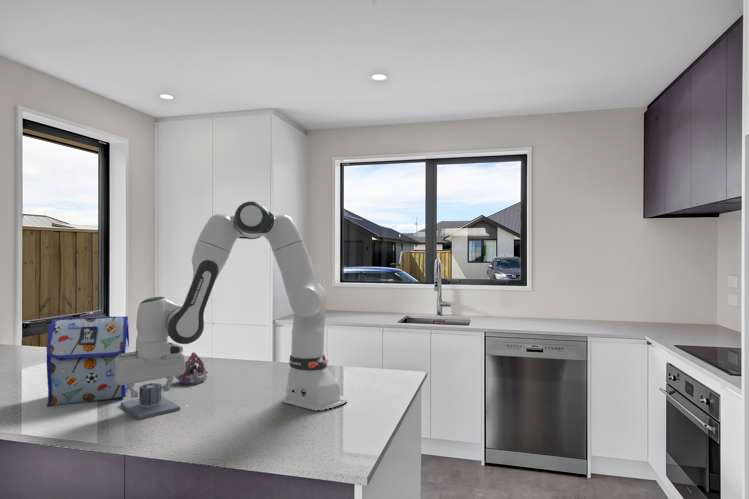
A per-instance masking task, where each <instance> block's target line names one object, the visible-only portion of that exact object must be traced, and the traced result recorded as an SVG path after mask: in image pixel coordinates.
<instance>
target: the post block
mask: <svg viewBox="0 0 749 499" xmlns="http://www.w3.org/2000/svg"><path fill="white" fill-rule="evenodd" d="M152 387H155V386H147V387H146V388H152ZM120 407H121V408H123V409H124V410H125V411H127V412H128V413H129V414H130V415H132V416H133V417H134V418H136V419H137V420H142V419H147V418H152V417H154V416H160V415H163V414H168V413H169V414H170V413H173V412H177V411H180V410H181V406H180V405H178V404H177V403H175V402H173V401H171V400H170V399H168V398H167V397H165V396H163V395H161V402H159V403H157V404H153V405H141V404H140V403H139V398H136V399H132V400H128V401H127V400H126V401H122V402H120Z"/></svg>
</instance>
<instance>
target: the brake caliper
mask: <svg viewBox="0 0 749 499" xmlns="http://www.w3.org/2000/svg"><path fill="white" fill-rule="evenodd" d="M197 364H198V366H197ZM207 374H208V371H207V370H206V367H205V364H204V362H203V360H202V359H201V357H199V356H198V354H197V353H196V352H192V353H191V354H190V355H189V357H188V359H187V361H185V372H184V374H183V375H178V376H174V378H175V379H176V380H177V381H179V382H180V384H182V385H199V384H200V383H204V382H205V381H207V378H208V376H207Z"/></svg>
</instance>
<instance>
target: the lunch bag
mask: <svg viewBox="0 0 749 499" xmlns="http://www.w3.org/2000/svg"><path fill="white" fill-rule="evenodd" d="M47 327H48V328H47V333H48V334H47V335H48V338H47V342H46V376H47V377H46V378H47V389H48V390H47V407H49V406H52V405H53V406H58V405H68V404H77V403H83V402H95V401H101V400H102V401H103V400H112V399H120V398H126V396H127V395H126V393H127V392H128V390H129V388H128V387H127V385H121V386H120V385H118V384H116V383H115V382H114V375H115V369H116V368H115V358H116V357H117V356H119V355H120V354H122V353H129V352H130V336H129V316H127V315H126V316H108V315H107V316H106V315H105V316H85V317H59V319H58V318H57V319H52V320H51V323H50V324H48V326H47Z"/></svg>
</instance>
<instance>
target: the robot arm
mask: <svg viewBox="0 0 749 499" xmlns="http://www.w3.org/2000/svg"><path fill="white" fill-rule="evenodd" d="M261 237H264V238H265V239H266V240H267V241H268V243H269V245H270V248H271V250H272V254H273V256H274V259H275V261H276V264H277V266H278V269H279V272H280V274H281V277H282V280H283V281H282V282H283V286H284V290H285V292H286V295H287V299H288V303H289V306H290V309H291V310H292V312H293V321H292V322H293V323H292V328H291V329H292V330H291V343H290V344H291V351H290V352H291V354H290V355H289V359H288V360H289V367H290V368H289V372H288V374H287V378H286V385H285V393H284V395H285V396H284V397H283V398H282V403H285V404H288V405H289V404H290V405H293V406H296V407H300V408H303V409H307V410H310V409H311V411H314V410H315V412H317V410H320V411H326V410H325V409H327V410H330V409H329V408H332V407H335V406H337V405H340V404H342V403H344V402H346V401H347V402H348V398H346V397H345V396H343V395H341V386H340V383H339V381H338V379H337V378H335V376H334V375H333V374H332V372H331V371H330V370H329V368H328V364H329V362H328V361H329V359H326V356H325V353H324V351H325V349H324V348H325V327H326V326H325V324H326V313H327V312H326V310H327V292H326V290H325V288H324V286H322V285H321V284H320V283H319V281H318V278H317V276H316V272H315V269H314V266H313V262H312V259H311V256H310V254H309V252H308V249H307V246H306V243H305V241H304V238H303V236H302V234H301V232H300V231H299V228H298V226H297V225H296V223H295V221H294V219H292V217H291V216H289V215H287V214H279V215H274V213H273V212H271V211H269V209H268V208H266V207H265V206H264V205H263V204H262V203H259V202H257V201H253V200H252V201H250V200H249V201H245V202H243V203H241V204H240V205H238V207H237V209H235V212H234V214H233V215H230V216H229V215H226V214H222V213H221V214H220V213H217V214H213V215H212V216H211V217H209V219H208V220H207V221H206V224H205V225H204V226H203V229H202V230H201V232H200V234H199V236H198V238H197V240H196V243H195V244H194V245H195V246H194V249H193V253H192V257H191V264H192V273H193V274H192V281H191V283H190V286H189V288H188V291H187V294H186V296H185V298H184V301H183V304H182V305H181V304H177V303H175V302H173V301H171V300H169V299H167V298H166V297H164V296H156V297H155V296H153V297H149V298H146V299H143V300H142V301H141V302H139V304H138V306H137V312H136V330H137V335H136V338H135V351H129V353H122V354H120V355H119V356H117V357H116V358H115V368H116V369H115V375H114V382H115V383H116V384H118V385H120V386H121V385H127V387H128V388H129V389H128V390H129V391H130V398H131V399H134V398H138V397H139V391H138V390H136V389H134V387H135V384H137V383H143V382H147V381H148V382H149V381H154V380H160V379H167V381H166V382H165V384H162V391H163V392H169V391H170V387H171V386H172V383H173V382H174V379H175V377H174V376H178V375H183V374H184V372H185V362H186V357H185V355H184V354H183V352H184V348H183V346H182V345H188V344H189V345H190V344H191V343H194V342H196V341H197V340H199V338H200V337H201V336H202V335H203V332H204V328H205V322H204V314H205V308H206V306H207V303H208V301H209V299H210V296H211V293H212V290H213V287H214V286H215V283H216V281H217V279H218V277H219V275H220V274H221V271H222V270H223V268H224V266H225V265H226V263H227V261H228V259H229V256H230V254H231V252H232V249H233V246H234V245H235V243H236V241H237V239H246V240H256V239H259V238H261ZM168 337H169V338H170V339H171V340H172V341H173V342H175V343H172V342H168V339H169V338H168ZM179 344H180V345H179ZM341 401H343V402H341ZM332 409H333V408H332Z"/></svg>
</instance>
